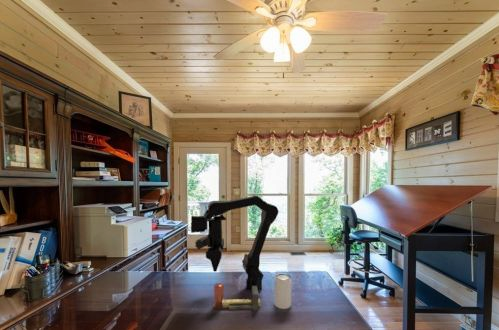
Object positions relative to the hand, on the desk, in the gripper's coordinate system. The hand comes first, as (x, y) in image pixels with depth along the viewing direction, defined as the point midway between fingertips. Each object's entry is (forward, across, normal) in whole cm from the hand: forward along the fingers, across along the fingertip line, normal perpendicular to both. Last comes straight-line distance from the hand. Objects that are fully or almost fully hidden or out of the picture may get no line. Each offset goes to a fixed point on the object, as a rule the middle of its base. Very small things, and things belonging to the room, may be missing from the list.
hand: (216, 266), depth 107 cm
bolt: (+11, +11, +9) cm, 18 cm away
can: (+13, +10, +27) cm, 32 cm away
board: (+12, +11, +6) cm, 18 cm away
